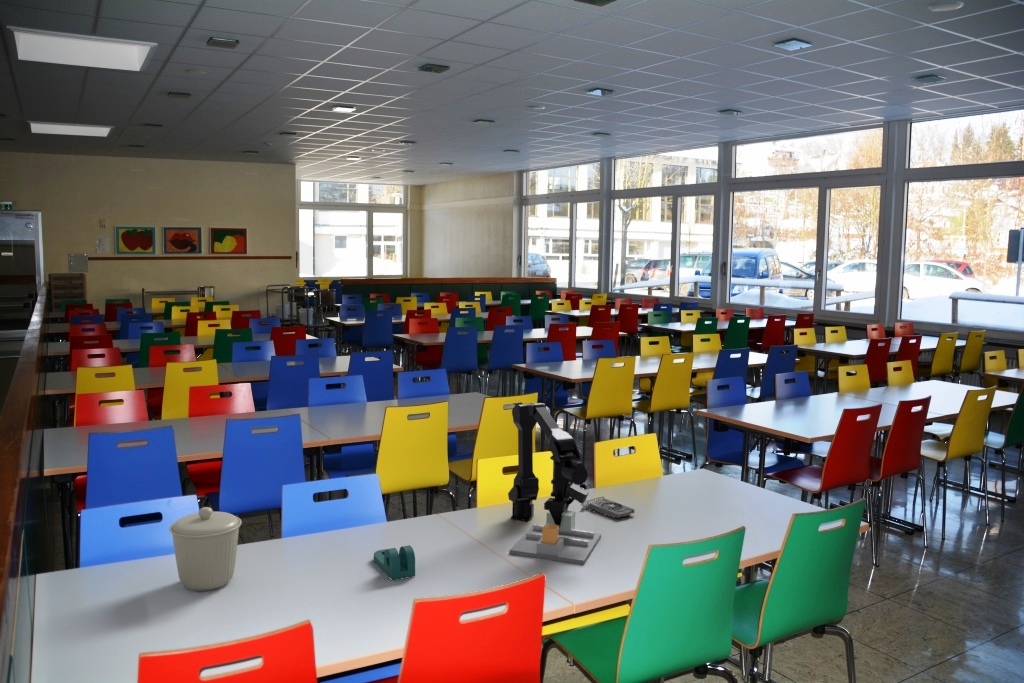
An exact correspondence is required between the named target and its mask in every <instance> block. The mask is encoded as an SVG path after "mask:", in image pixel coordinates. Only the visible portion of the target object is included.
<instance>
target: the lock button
mask: <svg viewBox="0 0 1024 683" xmlns="http://www.w3.org/2000/svg"><path fill="white" fill-rule="evenodd" d="M558 538H559V525H553V524H546V523H545V525H544V527H543V528H542V543H548V544H555V545H556V543H557V542H558Z"/></svg>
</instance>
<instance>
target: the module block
mask: <svg viewBox="0 0 1024 683" xmlns="http://www.w3.org/2000/svg"><path fill="white" fill-rule="evenodd" d="M545 520H546V522H545V524H553V525H555V522H554V520H553V518H552V516H551V514H550V512H549V510H547V512H546V518H545ZM575 527H576V511H575V510H569V509H568V510H565V511H564V512H563V515H562V520H561V525H560V527H559V530H561V531H568V532H571V531H572V530H573V529H574V528H575Z"/></svg>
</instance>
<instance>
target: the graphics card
mask: <svg viewBox="0 0 1024 683" xmlns="http://www.w3.org/2000/svg"><path fill="white" fill-rule="evenodd" d="M580 506H582V507H580V511H584V510H587V509H588V510H590V511H592V510H593V509H594V510H593V511H592V512H594V511H596V512H597V513H599V512H600V513H599V514H602V513H603V514H602V515H604V514H606V515H605V516H607V515H608V516H607V517H610V516H611V517H610V518H612V517H613V519H616V518H618V519H619V518H621V517H626V516H627V517H628V516H629V515H631V514H635V508H632V507H630V506H627V505H624V504H621V503H618V502H616V501H614V500H611V499H610V500H609V499H607V498H605V496H604V495H602V496H599V497H596V498H591V499H588V500H587V499H586V500H585V502H584V503H580ZM590 508H591V509H590ZM583 509H584V510H583ZM615 517H616V518H615Z"/></svg>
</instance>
